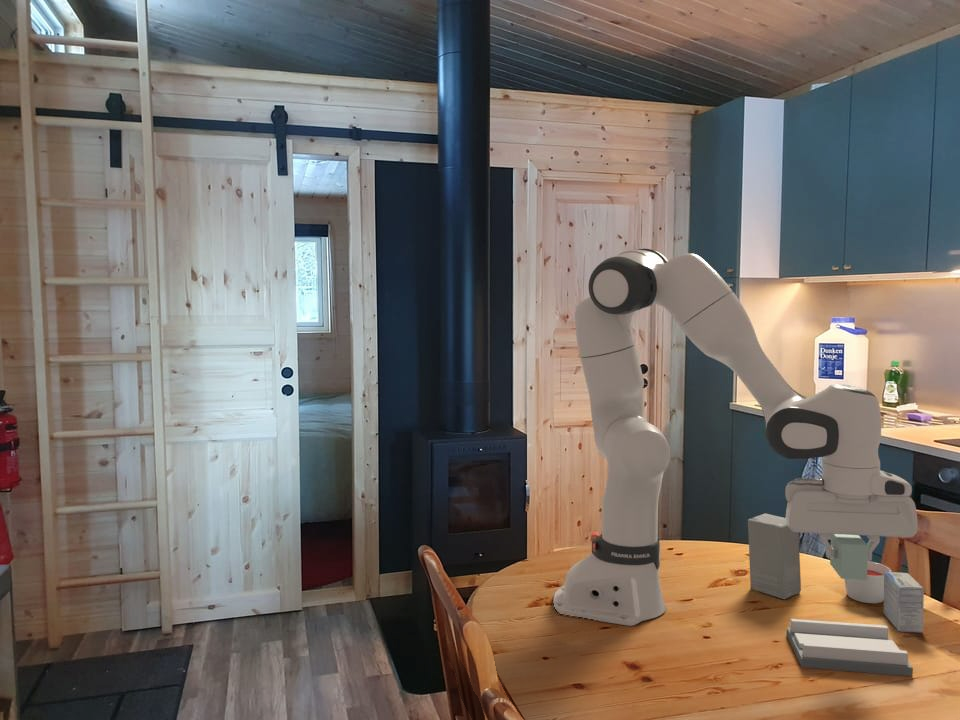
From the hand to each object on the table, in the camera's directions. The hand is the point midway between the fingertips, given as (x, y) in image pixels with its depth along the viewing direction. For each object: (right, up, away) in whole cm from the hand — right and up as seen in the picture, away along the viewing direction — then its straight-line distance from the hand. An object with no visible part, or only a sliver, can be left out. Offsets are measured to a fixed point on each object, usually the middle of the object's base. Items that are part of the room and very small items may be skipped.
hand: (848, 558), depth 125 cm
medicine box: (+17, -16, +13) cm, 27 cm away
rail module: (0, -2, 0) cm, 2 cm away
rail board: (0, -17, +1) cm, 17 cm away
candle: (+16, -15, +26) cm, 34 cm away
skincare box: (-1, -15, +29) cm, 33 cm away
